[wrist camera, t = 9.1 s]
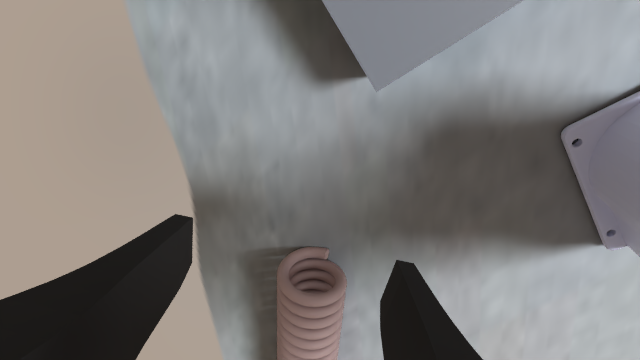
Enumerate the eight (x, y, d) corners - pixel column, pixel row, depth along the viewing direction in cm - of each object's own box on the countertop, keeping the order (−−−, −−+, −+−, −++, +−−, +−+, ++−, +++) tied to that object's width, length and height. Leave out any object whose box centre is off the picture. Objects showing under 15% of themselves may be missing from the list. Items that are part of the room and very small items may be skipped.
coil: (330, 448, 29) (352, 294, 20) (274, 448, 29) (273, 292, 20) (328, 392, 33) (345, 244, 25) (279, 392, 33) (279, 242, 24)
